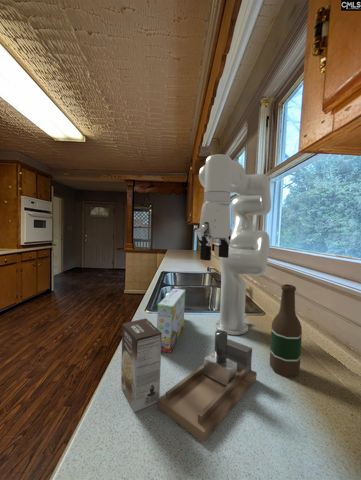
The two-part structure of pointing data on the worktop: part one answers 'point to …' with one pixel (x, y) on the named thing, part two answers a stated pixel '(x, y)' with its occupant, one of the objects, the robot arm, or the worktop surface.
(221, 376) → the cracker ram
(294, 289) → the beer bottle
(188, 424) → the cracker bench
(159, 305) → the snack box
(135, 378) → the coffee box
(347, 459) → the worktop surface
